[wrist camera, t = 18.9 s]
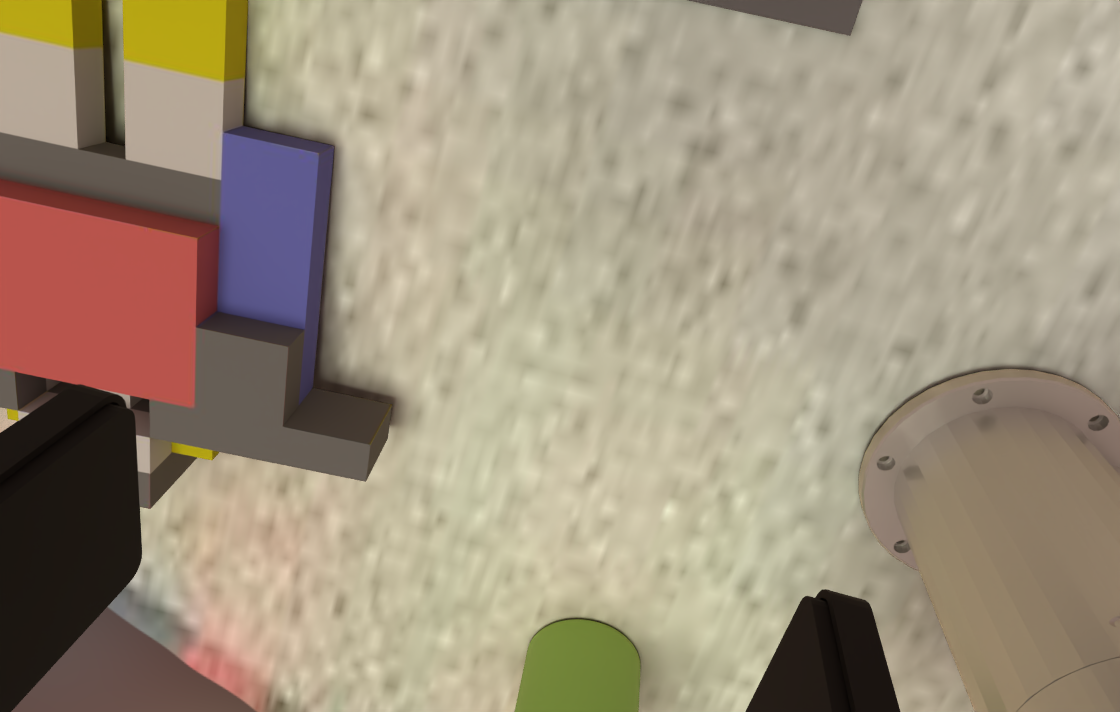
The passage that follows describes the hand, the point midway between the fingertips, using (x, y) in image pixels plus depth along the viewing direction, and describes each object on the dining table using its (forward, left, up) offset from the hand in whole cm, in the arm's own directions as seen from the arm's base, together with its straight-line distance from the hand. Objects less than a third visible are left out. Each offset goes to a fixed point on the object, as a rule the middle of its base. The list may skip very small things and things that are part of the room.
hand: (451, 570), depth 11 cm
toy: (+21, +9, -28) cm, 36 cm away
